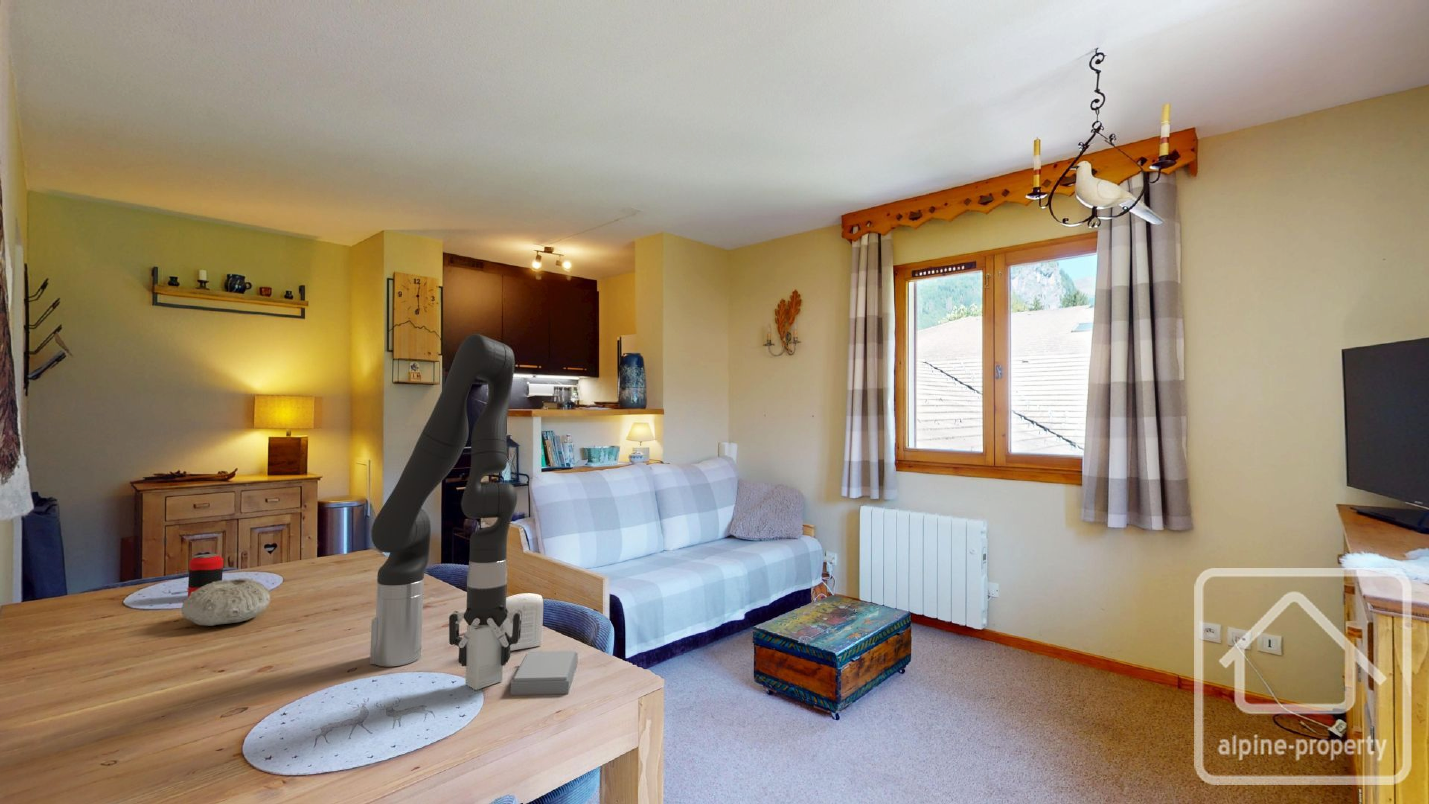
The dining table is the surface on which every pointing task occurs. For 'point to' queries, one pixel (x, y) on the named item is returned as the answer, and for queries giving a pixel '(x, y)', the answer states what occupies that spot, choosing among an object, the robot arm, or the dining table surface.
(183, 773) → the dining table surface
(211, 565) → the soda can
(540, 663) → the slate stand
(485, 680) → the skincare box
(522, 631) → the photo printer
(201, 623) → the decorative shell
